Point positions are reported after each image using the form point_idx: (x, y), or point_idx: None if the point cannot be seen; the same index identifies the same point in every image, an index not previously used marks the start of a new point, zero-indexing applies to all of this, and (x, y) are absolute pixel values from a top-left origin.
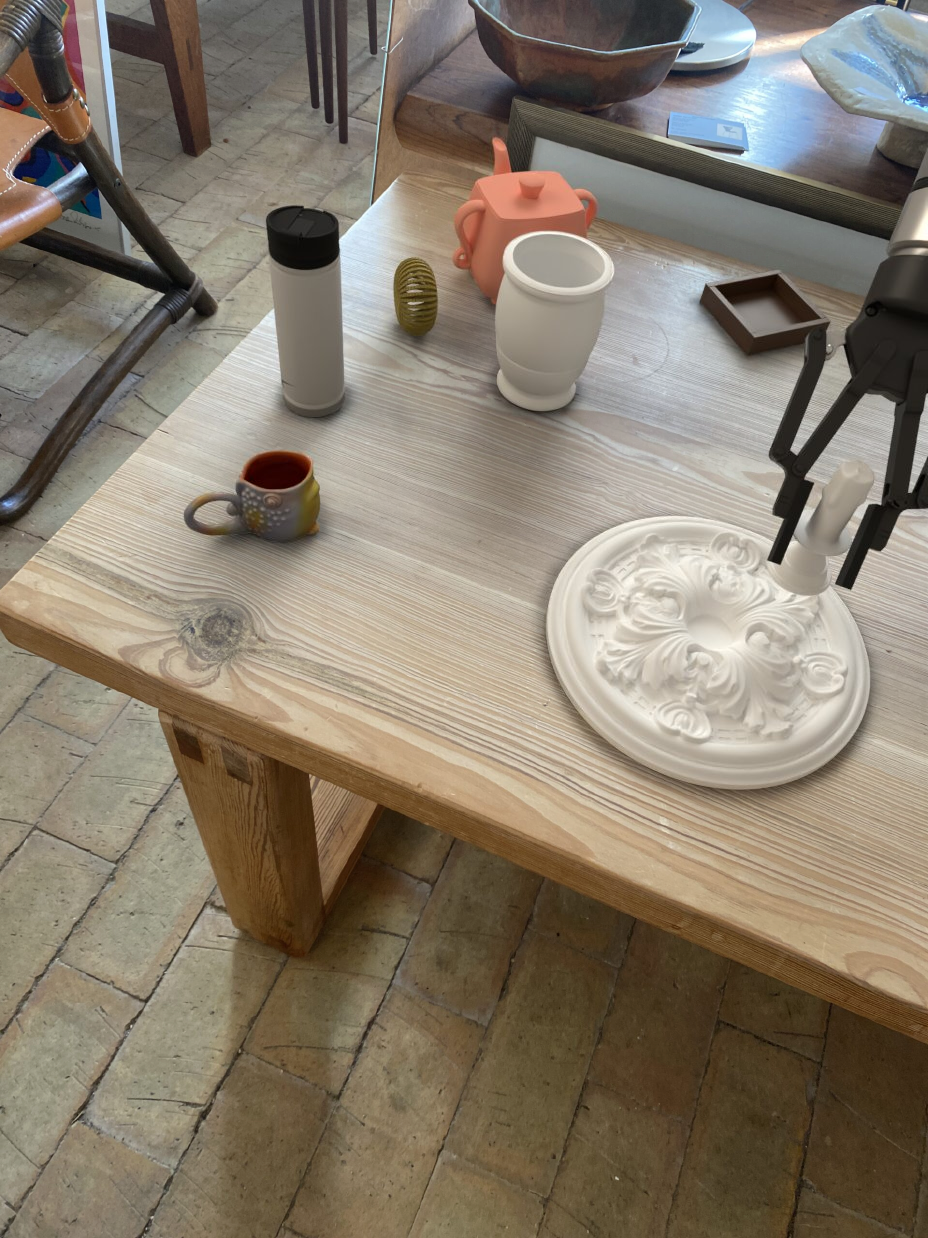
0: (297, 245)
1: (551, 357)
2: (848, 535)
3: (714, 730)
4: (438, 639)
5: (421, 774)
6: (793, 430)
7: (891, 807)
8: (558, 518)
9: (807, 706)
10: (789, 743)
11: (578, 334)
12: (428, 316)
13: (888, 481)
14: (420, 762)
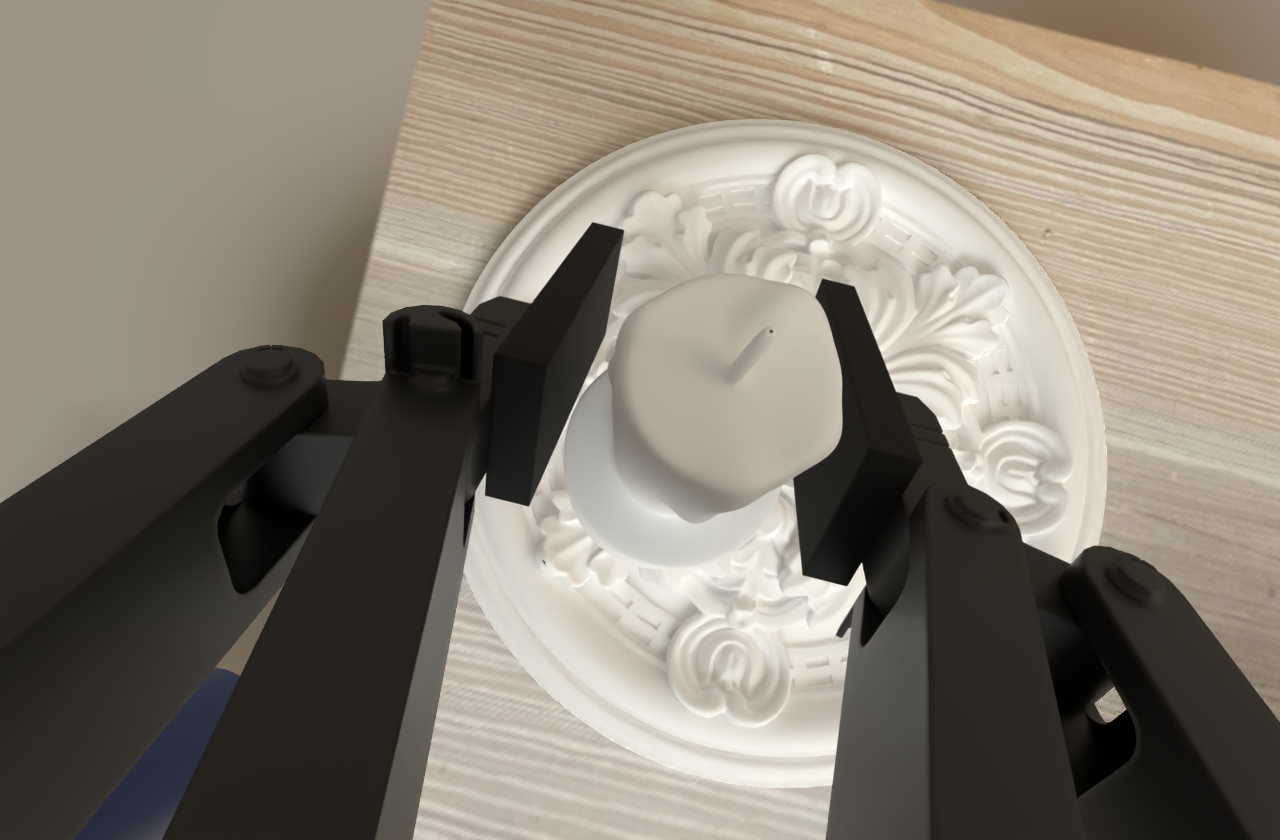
0: None
1: None
2: (576, 456)
3: (762, 205)
4: (1265, 329)
5: (1203, 82)
6: (1200, 715)
7: (444, 144)
8: (1125, 709)
9: None
10: (632, 181)
11: None
12: None
13: (463, 514)
14: (1211, 100)
